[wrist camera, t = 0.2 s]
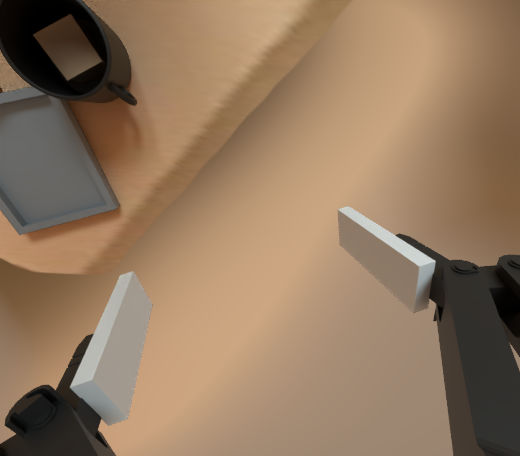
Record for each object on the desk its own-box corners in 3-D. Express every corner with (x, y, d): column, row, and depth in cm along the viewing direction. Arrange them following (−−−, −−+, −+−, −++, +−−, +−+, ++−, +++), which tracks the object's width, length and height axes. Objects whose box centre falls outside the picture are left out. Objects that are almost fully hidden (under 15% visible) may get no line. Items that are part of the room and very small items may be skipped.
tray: (-63, 109, 30) (-78, 108, 28) (58, 84, 31) (51, 82, 30) (26, 229, 38) (19, 234, 36) (119, 204, 39) (116, 208, 38)
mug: (124, 132, 35) (103, 138, 27) (29, 60, 30) (-30, 42, 22) (163, 77, 34) (153, 67, 26) (71, -9, 28) (23, -55, 20)
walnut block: (54, 45, 29) (32, 34, 26) (87, 26, 30) (70, 13, 26) (83, 84, 32) (67, 80, 28) (113, 67, 32) (102, 61, 28)
